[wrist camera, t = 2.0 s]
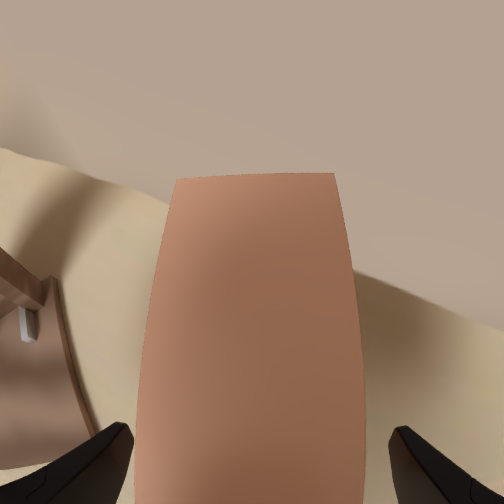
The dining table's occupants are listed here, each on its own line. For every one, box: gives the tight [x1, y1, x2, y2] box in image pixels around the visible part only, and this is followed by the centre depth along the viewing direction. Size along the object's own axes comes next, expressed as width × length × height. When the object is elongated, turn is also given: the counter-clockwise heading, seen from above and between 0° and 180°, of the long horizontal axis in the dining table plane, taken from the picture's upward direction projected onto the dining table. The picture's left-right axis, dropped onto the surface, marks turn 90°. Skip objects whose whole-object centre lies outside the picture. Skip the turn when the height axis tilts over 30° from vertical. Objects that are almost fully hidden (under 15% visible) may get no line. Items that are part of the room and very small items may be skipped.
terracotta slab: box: [135, 173, 366, 504], centre depth 10 cm, size 10×4×12 cm, turn 179°
